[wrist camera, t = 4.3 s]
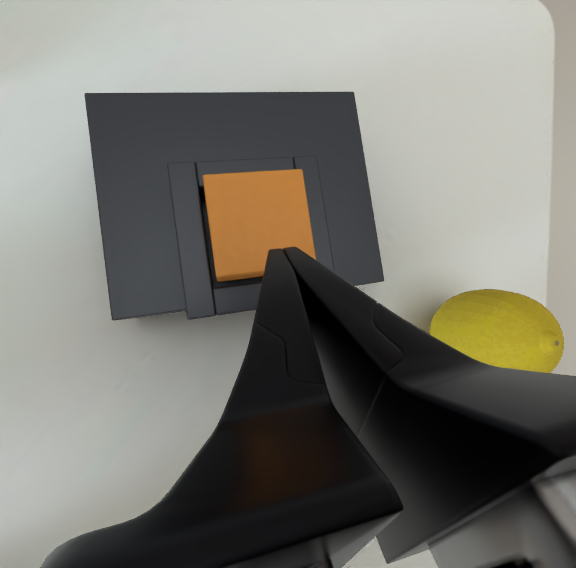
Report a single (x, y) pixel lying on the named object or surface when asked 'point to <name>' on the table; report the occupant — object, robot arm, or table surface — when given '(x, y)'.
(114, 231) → the push button
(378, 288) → the table surface
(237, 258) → the key
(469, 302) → the lemon
